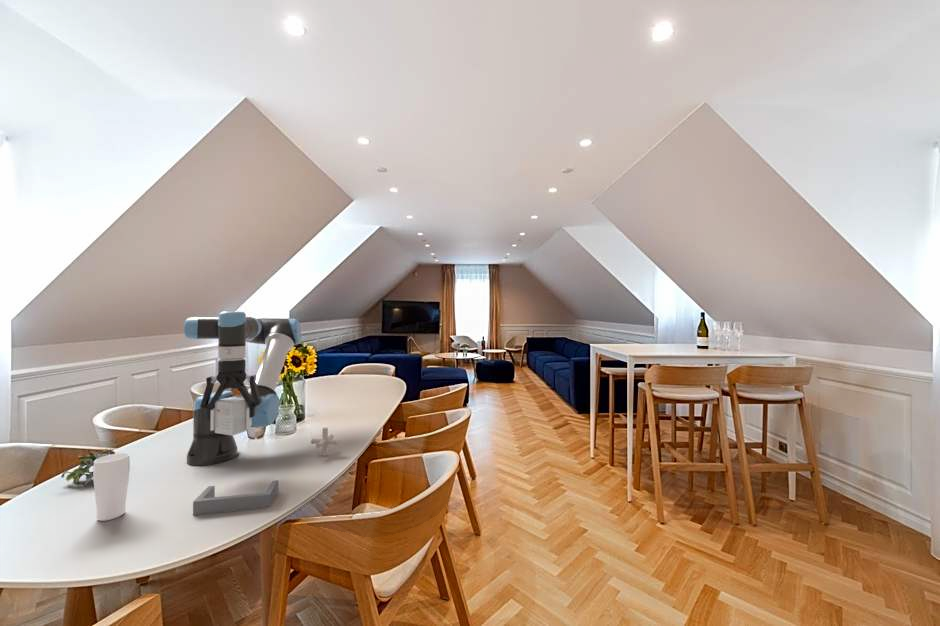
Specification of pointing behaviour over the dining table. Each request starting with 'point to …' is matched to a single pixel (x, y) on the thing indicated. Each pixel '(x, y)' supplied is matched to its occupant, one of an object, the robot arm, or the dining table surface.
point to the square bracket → (233, 501)
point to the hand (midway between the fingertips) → (231, 428)
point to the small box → (230, 416)
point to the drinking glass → (111, 485)
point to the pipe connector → (324, 441)
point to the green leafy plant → (88, 462)
